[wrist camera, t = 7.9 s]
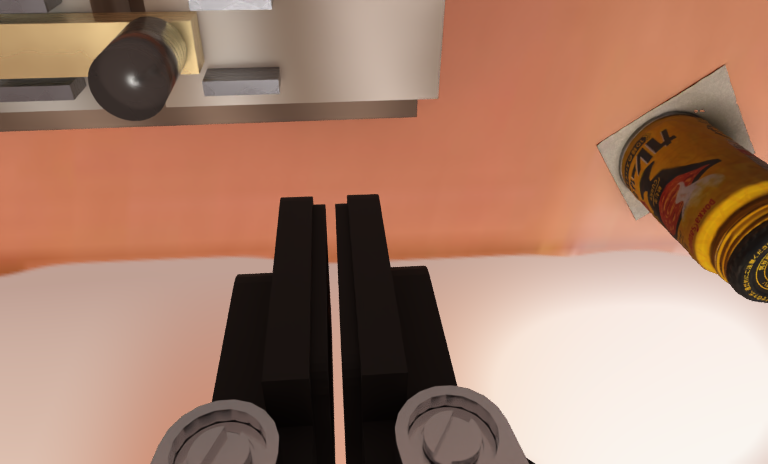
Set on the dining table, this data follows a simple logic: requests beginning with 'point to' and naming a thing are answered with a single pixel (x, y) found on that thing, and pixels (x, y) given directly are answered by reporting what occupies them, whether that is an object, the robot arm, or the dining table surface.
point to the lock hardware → (71, 87)
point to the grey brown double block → (278, 64)
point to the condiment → (699, 181)
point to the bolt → (106, 54)
